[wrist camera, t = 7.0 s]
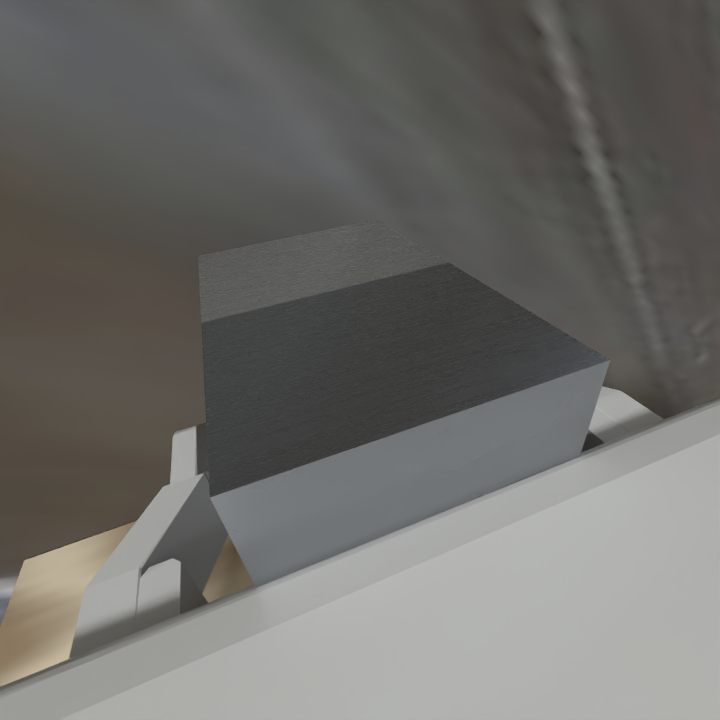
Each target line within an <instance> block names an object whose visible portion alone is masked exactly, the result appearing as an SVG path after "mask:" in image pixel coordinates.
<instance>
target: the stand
mask: <svg viewBox="0 0 720 720" xmlns="http://www.w3.org/2000/svg"><path fill="white" fill-rule="evenodd" d="M135 523H136V521H134V522H132V523H129V524H126V525H123V526H120V527H118V528H115V529H112V530H109V531H106V532H103V533H101V534H98V535H95V536H92V537H89V538H86V539H84V540H81V541H78V542H75V543H72V544H69V545H67V546H64V547H61V548H58V549H55V550H53V551H50V552H47V553H44V554H41V555H38V556H36V557H33V558H30V559H27V560H24V563H23V566H22V568H21V571H20V574H19V577H18V580H17V582H16V585H15V588H14V591H13V593H12V596H11V599H10V602H9V605H8V607H7V610H6V613H5V616H4V618H3V621H2V624H1V627H0V687H1V686H3V685H6V684H8V683H11V682H13V681H16V680H18V679H21V678H23V677H26V676H28V675H30V674H33V673H35V672H38V671H40V670H43V669H45V668H48V667H50V666H53V665H55V664H58V663H60V662H63V661H65V660H68V659H69V656H70V651H71V647H72V643H73V638H74V634H75V629H76V625H77V620H78V616H79V612H80V607H81V603H82V598H83V594H84V590H85V588H86V586H87V585H88V584H89V582H90V581H91V580H92V579H93V577H94V576H95V575H96V573H97V572H98V571H99V569H100V568H101V567H102V566H103V564H104V563H105V562H106V560H107V559H108V558H109V556H110V555H111V554H112V553H113V551H114V550H115V549H116V547H117V546H118V545H119V543H120V542H121V541H122V540H123V538H124V537H125V536H126V534H127V533H128V532H129V530H130V529H131V528H132V527H133V525H134V524H135ZM251 585H254V583H253V581H252V579H251V577H250V575H249V573H248V571H247V569H246V567H245V566H244V564H243V562H242V560H241V558H240V556H239V554H238V552H237V550H236V548H235V546H234V544H233V542H232V540H231V538H230V536H229V534H228V536H227V538H226V541H225V543H224V545H223V548H222V550H221V552H220V554H219V557H218V559H217V561H216V564H215V566H214V568H213V571H212V573H211V575H210V577H209V580H208V582H207V584H206V587H205V589H204V591H203V596H204V597H205V599H206V600H207V602H208V603H209V602H212V601H214V600H217V599H219V598H222V597H224V596H227V595H229V594H231V593H234V592H236V591H239V590H241V589H244V588H246V587H249V586H251Z"/></svg>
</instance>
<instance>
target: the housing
mask: <svg viewBox="0 0 720 720" xmlns="http://www.w3.org/2000/svg"><path fill="white" fill-rule="evenodd" d="M198 263H199V283H200V304H201V325H202V345H203V366H204V387H205V407H206V428H207V448H208V469H209V490H210V499H211V501H212V503H213V505H214V507H215V509H216V511H217V513H218V515H219V516H220V518H221V520H222V522H223V524H224V526H225V528H226V530H227V532H228V534H229V536H230V538H231V540H232V542H233V544H234V546H235V548H236V550H237V552H238V554H239V556H240V558H241V560H242V562H243V564H244V566H245V567H246V569H247V571H248V573H249V575H250V577H251V579H252V581H253V583H254V585H255V587H256V588H257V587H259V586H262V585H264V584H267V583H269V582H272V581H274V580H277V579H279V578H282V577H284V576H286V575H289V574H291V573H294V572H296V571H299V570H301V569H304V568H306V567H309V566H311V565H314V564H316V563H318V562H321V561H323V560H326V559H328V558H331V557H333V556H336V555H338V554H341V553H343V552H346V551H348V550H351V549H353V548H355V547H358V546H360V545H363V544H365V543H368V542H370V541H373V540H375V539H378V538H380V537H383V536H385V535H388V534H390V533H392V532H395V531H397V530H400V529H402V528H405V527H407V526H410V525H412V524H415V523H417V522H420V521H422V520H425V519H427V518H429V517H432V516H434V515H437V514H439V513H442V512H444V511H447V510H449V509H452V508H454V507H457V506H459V505H462V504H464V503H466V502H469V501H471V500H474V499H476V498H479V497H481V496H484V495H486V494H489V493H491V492H494V491H496V490H499V489H501V488H504V487H506V486H508V485H511V484H513V483H516V482H518V481H521V480H523V479H526V478H528V477H531V476H533V475H536V474H538V473H541V472H543V471H546V470H548V469H550V468H553V467H555V466H558V465H560V464H563V463H565V462H568V461H570V460H573V459H575V458H578V457H580V454H581V451H582V448H583V445H584V442H585V438H586V435H587V432H588V429H589V426H590V423H591V419H592V416H593V413H594V410H595V407H596V404H597V400H598V397H599V394H600V391H601V388H602V385H603V381H604V378H605V375H606V372H607V369H608V366H609V362H610V360H609V359H608V358H606V357H604V356H603V355H601V354H599V353H598V352H596V351H594V350H593V349H591V348H589V347H588V346H586V345H584V344H583V343H581V342H579V341H578V340H576V339H575V338H573V337H571V336H570V335H568V334H566V333H565V332H563V331H561V330H560V329H558V328H556V327H555V326H553V325H551V324H550V323H548V322H546V321H545V320H543V319H541V318H540V317H538V316H536V315H535V314H533V313H531V312H530V311H528V310H526V309H525V308H523V307H521V306H520V305H518V304H516V303H515V302H513V301H511V300H510V299H508V298H507V297H505V296H503V295H502V294H500V293H498V292H497V291H495V290H493V289H492V288H490V287H488V286H487V285H485V284H483V283H482V282H480V281H478V280H477V279H475V278H473V277H472V276H470V275H468V274H467V273H465V272H463V271H462V270H460V269H458V268H457V267H455V266H453V265H452V264H450V263H448V262H447V261H445V260H444V259H442V258H440V257H439V256H437V255H435V254H434V253H432V252H430V251H429V250H427V249H425V248H424V247H422V246H420V245H419V244H417V243H415V242H414V241H412V240H410V239H409V238H407V237H405V236H404V235H402V234H400V233H399V232H397V231H395V230H394V229H392V228H390V227H389V226H387V225H385V224H384V223H382V222H380V221H379V220H377V219H375V220H370V221H365V222H361V223H356V224H351V225H346V226H341V227H336V228H332V229H327V230H322V231H317V232H312V233H307V234H303V235H298V236H293V237H288V238H283V239H278V240H274V241H269V242H264V243H259V244H254V245H249V246H245V247H240V248H235V249H230V250H225V251H220V252H216V253H211V254H206V255H201V256H198Z"/></svg>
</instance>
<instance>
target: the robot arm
mask: <svg viewBox="0 0 720 720" xmlns="http://www.w3.org/2000/svg"><path fill="white" fill-rule="evenodd" d="M227 536H228V532H227V530H226V528H225V526H224V524H223V522H222V520H221V518H220V516H219V515H218V513H217V511H216V509H215V507H214V505H213V503H212V501H211V499H210V490H209V469H208V448H207V428H206V423H203V424H200V425H198V426H193V427H190V428H187V429H183V430H180V431H176V432H175V434H174V435H173V444H172V461H171V478H170V484H169V485H166V486H163V488H162V489H161V490H160V491H159V493H158V494H157V495H156V497H155V498H154V499H153V501H152V502H151V503H150V504H149V506H148V507H147V508H146V510H145V511H144V512H143V514H142V515H141V516H140V517H139V519H138V520H137V521H136V523H135V524H134V525H133V527H132V528H131V529H130V530H129V532H128V533H127V534H126V536H125V537H124V538H123V540H122V541H121V542H120V543H119V545H118V546H117V547H116V549H115V550H114V551H113V553H112V554H111V555H110V556H109V558H108V559H107V560H106V562H105V563H104V564H103V566H102V567H101V568H100V569H99V571H98V572H97V573H96V575H95V576H94V577H93V579H92V580H91V581H90V582H89V584H88V585H87V586H86V588H85V590H84V594H83V598H82V603H81V607H80V612H79V616H78V620H77V625H76V629H75V634H74V638H73V643H72V647H71V651H70V656H69V659H68V660H65V661H63V662H60V663H58V664H55V665H53V666H50V667H48V668H45V669H43V670H40V671H38V672H35V673H33V674H30V675H28V676H26V677H23V678H21V679H18V680H16V681H13V682H11V683H8V684H6V685H3V686H1V687H0V720H720V397H718V398H716V399H713V400H711V401H708V402H706V403H703V404H701V405H698V406H696V407H693V408H691V409H688V410H686V411H684V412H681V413H679V414H676V415H674V416H671V417H669V418H666V419H663V418H661V417H660V416H658V415H657V414H655V413H654V412H652V411H651V410H649V409H647V408H646V407H644V406H643V405H641V404H640V403H638V402H637V401H635V400H634V399H632V398H631V397H629V396H628V395H626V394H625V393H623V392H622V391H619V390H615V389H611V388H607V387H603V386H602V388H601V391H600V394H599V397H598V400H597V404H596V407H595V410H594V413H593V416H592V419H591V423H590V426H589V429H588V432H587V435H586V438H585V442H584V445H583V448H582V451H581V454H580V457H578V458H575V459H573V460H570V461H568V462H565V463H563V464H560V465H558V466H555V467H553V468H550V469H548V470H546V471H543V472H541V473H538V474H536V475H533V476H531V477H528V478H526V479H523V480H521V481H518V482H516V483H513V484H511V485H508V486H506V487H504V488H501V489H499V490H496V491H494V492H491V493H489V494H486V495H484V496H481V497H479V498H476V499H474V500H471V501H469V502H466V503H464V504H462V505H459V506H457V507H454V508H452V509H449V510H447V511H444V512H442V513H439V514H437V515H434V516H432V517H429V518H427V519H425V520H422V521H420V522H417V523H415V524H412V525H410V526H407V527H405V528H402V529H400V530H397V531H395V532H392V533H390V534H388V535H385V536H383V537H380V538H378V539H375V540H373V541H370V542H368V543H365V544H363V545H360V546H358V547H355V548H353V549H351V550H348V551H346V552H343V553H341V554H338V555H336V556H333V557H331V558H328V559H326V560H323V561H321V562H318V563H316V564H314V565H311V566H309V567H306V568H304V569H301V570H299V571H296V572H294V573H291V574H289V575H286V576H284V577H282V578H279V579H277V580H274V581H272V582H269V583H267V584H264V585H262V586H259V587H257V588H256V587H255V585H251V586H249V587H246V588H244V589H241V590H239V591H236V592H234V593H231V594H229V595H227V596H224V597H222V598H219V599H217V600H214V601H212V602H209V603H208V602H207V600H206V599H205V597H204V596H203V591H204V589H205V587H206V584H207V582H208V580H209V577H210V575H211V573H212V571H213V568H214V566H215V564H216V561H217V559H218V557H219V554H220V552H221V550H222V548H223V545H224V543H225V541H226V538H227Z"/></svg>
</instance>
